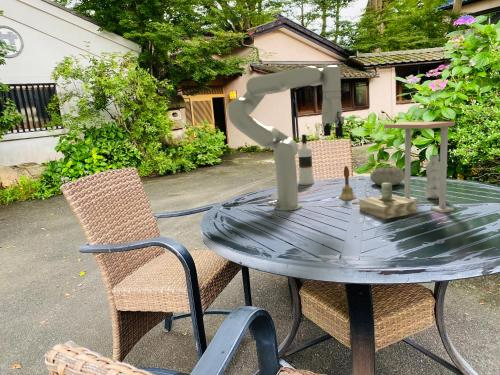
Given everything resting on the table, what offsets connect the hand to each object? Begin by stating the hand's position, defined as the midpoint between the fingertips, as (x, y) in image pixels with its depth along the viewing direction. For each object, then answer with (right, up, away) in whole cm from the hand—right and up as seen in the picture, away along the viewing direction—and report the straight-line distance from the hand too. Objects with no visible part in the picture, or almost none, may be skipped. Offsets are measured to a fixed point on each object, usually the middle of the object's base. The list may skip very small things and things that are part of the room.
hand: (333, 136), depth 160 cm
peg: (+21, -32, -6) cm, 39 cm away
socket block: (+21, -33, -6) cm, 39 cm away
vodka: (-2, -20, +63) cm, 66 cm away
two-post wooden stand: (+36, -31, -2) cm, 47 cm away
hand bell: (+12, -28, +22) cm, 37 cm away
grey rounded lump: (+40, -21, +44) cm, 63 cm away
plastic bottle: (+48, -28, +8) cm, 56 cm away
